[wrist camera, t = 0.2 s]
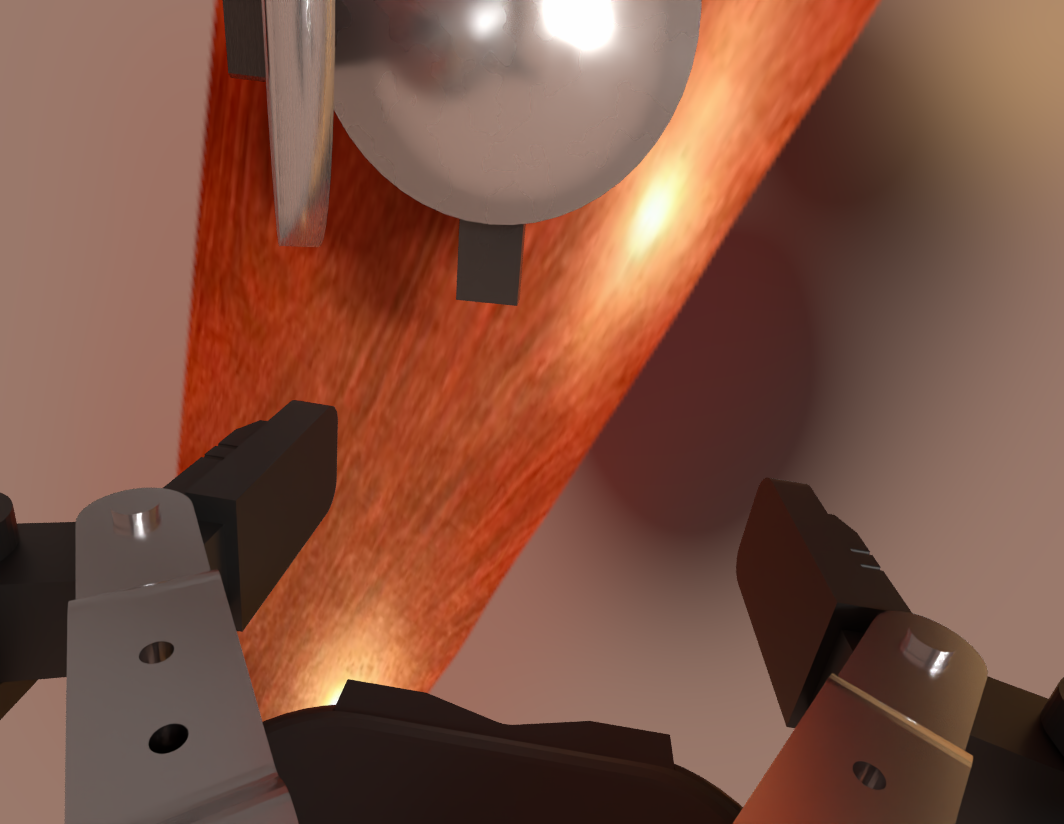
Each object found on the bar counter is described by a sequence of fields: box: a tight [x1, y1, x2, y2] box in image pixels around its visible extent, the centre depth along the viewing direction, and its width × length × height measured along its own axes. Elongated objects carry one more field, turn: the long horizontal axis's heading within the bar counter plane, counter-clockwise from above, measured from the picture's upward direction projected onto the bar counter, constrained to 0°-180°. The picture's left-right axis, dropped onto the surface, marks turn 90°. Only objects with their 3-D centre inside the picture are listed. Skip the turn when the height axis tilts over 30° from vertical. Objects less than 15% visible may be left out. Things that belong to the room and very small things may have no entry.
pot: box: [334, 0, 701, 306], centre depth 31 cm, size 24×16×10 cm
